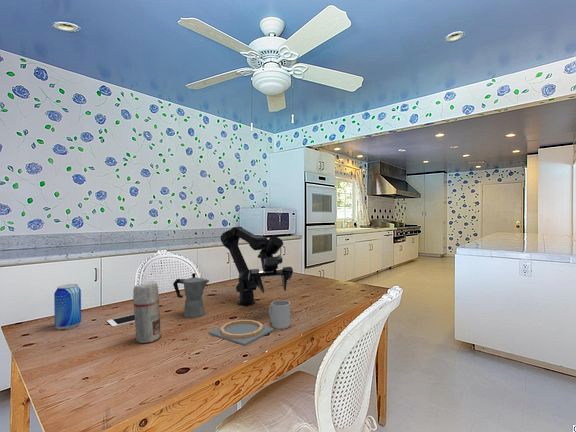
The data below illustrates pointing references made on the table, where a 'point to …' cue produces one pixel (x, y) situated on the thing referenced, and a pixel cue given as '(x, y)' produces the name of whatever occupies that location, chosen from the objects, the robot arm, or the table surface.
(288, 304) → the cup
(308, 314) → the table surface
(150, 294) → the spray can
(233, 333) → the collar mat
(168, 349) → the table surface
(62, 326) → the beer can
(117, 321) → the cell phone
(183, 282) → the coffeepot
